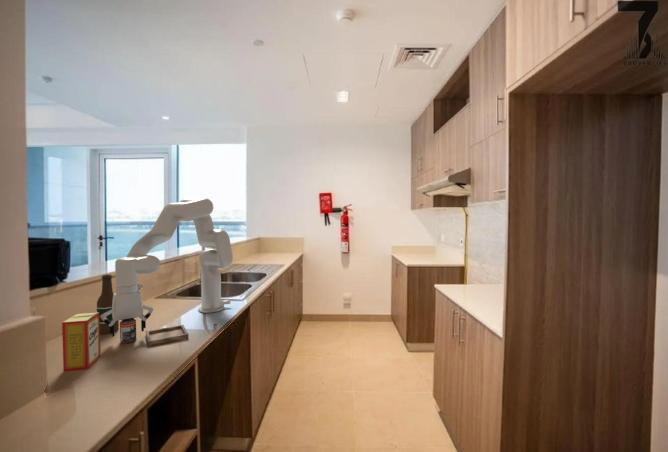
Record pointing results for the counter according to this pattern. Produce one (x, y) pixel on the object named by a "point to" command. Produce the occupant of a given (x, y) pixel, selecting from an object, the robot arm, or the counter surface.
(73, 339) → the baking soda box
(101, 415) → the counter surface
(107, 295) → the beer bottle
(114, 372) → the counter surface
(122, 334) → the supplement bottle
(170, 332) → the walnut tray
